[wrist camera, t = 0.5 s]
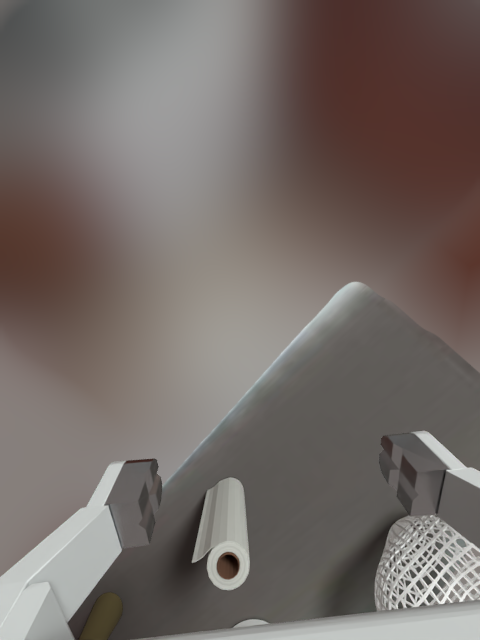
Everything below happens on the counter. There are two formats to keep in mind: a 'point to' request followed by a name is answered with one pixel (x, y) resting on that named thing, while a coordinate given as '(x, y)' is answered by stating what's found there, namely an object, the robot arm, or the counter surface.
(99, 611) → the olive green rounded piece
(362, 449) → the counter surface
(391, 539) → the heart
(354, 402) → the counter surface
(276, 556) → the counter surface
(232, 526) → the paper towel roll
